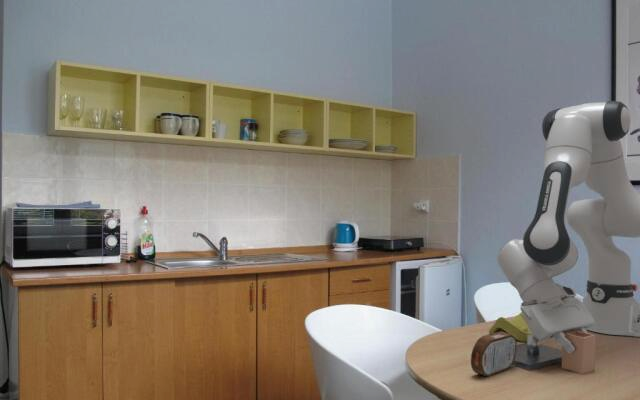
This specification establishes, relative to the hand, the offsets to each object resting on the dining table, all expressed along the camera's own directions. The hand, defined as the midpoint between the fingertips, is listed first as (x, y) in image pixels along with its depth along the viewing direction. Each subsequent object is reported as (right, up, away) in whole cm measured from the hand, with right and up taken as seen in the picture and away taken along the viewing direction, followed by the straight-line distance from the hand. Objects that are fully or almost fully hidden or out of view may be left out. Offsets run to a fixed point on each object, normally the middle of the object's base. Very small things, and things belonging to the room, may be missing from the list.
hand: (581, 349), depth 124 cm
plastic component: (-1, -5, +32) cm, 32 cm away
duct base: (-8, -4, +9) cm, 13 cm away
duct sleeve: (-1, -5, +1) cm, 5 cm away
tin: (-21, -4, -3) cm, 21 cm away
